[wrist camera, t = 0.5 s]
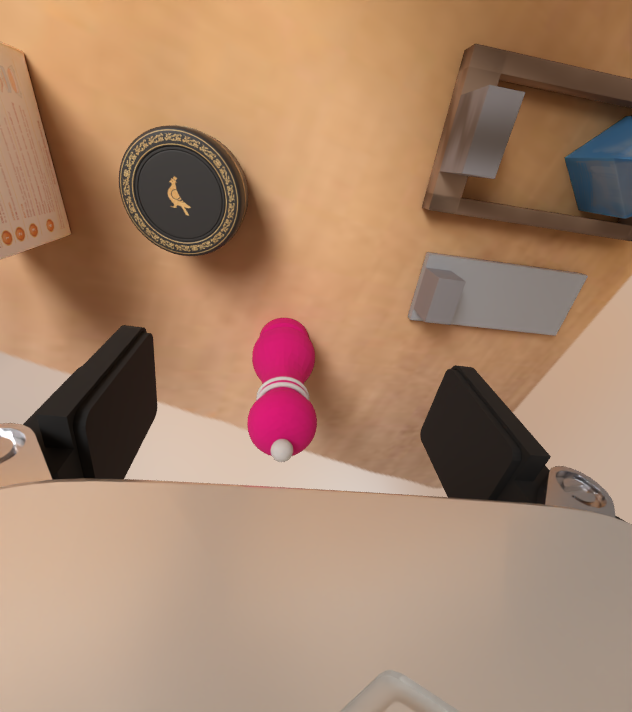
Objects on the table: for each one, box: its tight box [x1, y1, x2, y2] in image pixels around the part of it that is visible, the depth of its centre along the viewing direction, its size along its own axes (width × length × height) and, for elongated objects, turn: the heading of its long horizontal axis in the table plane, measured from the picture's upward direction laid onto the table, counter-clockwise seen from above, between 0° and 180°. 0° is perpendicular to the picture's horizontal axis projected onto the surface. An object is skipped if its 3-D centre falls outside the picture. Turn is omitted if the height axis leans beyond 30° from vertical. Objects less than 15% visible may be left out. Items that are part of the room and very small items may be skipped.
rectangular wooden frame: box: [422, 44, 632, 241], centre depth 32 cm, size 13×24×7 cm, turn 82°
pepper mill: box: [248, 318, 317, 462], centre depth 35 cm, size 7×7×20 cm
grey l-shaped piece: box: [408, 252, 588, 336], centre depth 40 cm, size 8×20×5 cm, turn 82°
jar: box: [119, 125, 248, 256], centre depth 31 cm, size 10×10×8 cm
